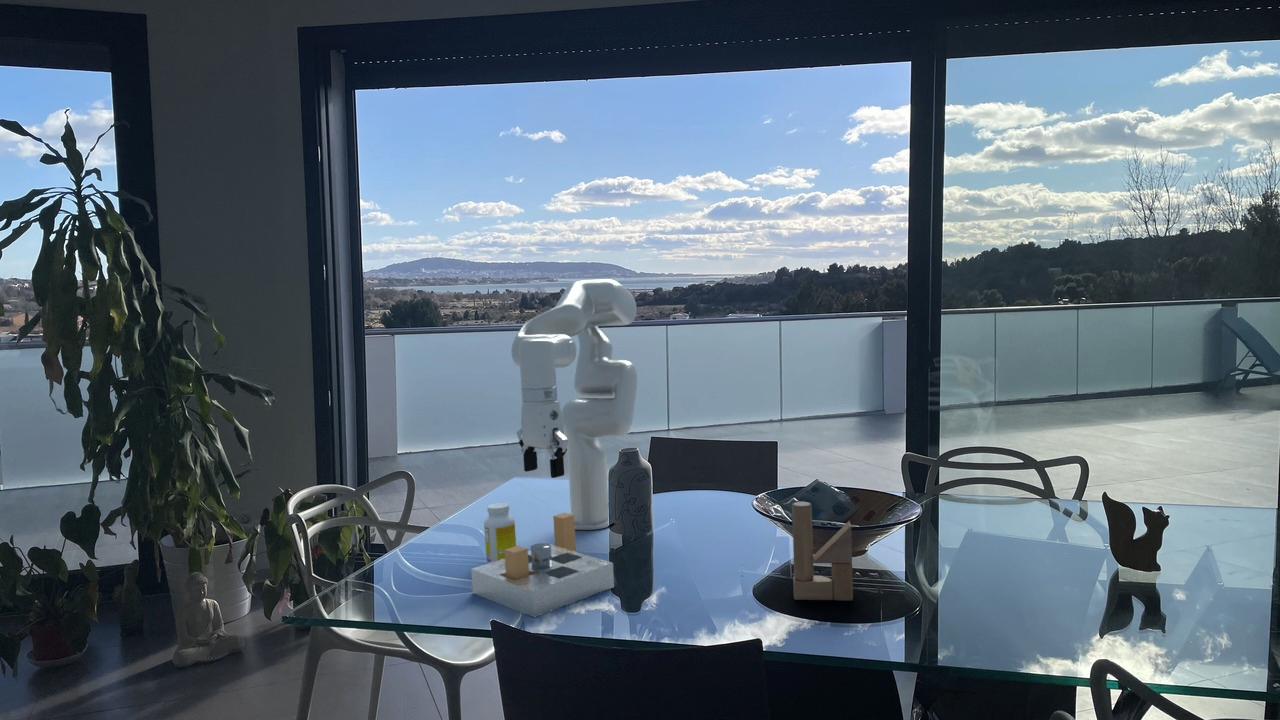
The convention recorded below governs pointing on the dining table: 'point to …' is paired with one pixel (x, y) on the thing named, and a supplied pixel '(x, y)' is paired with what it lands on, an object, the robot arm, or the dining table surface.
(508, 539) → the supplement bottle
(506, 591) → the grey peg hole board
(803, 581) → the wooden block structure
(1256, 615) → the dining table surface
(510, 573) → the tall tan wooden post
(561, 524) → the tan square prism
